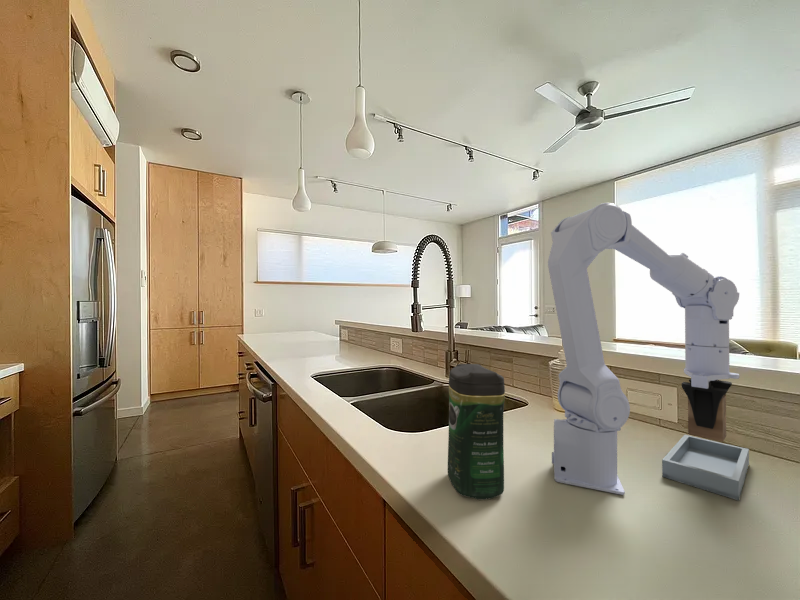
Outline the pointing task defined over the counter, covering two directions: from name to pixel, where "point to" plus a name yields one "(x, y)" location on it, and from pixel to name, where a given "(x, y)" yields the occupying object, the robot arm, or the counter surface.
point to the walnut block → (715, 433)
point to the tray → (707, 465)
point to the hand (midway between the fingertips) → (707, 423)
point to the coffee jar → (476, 431)
